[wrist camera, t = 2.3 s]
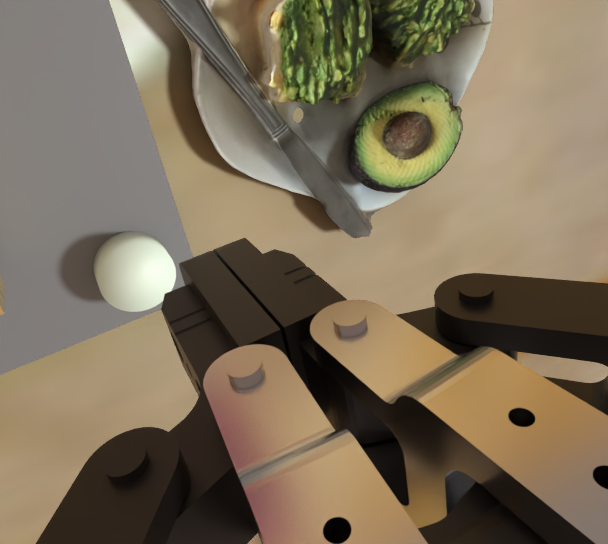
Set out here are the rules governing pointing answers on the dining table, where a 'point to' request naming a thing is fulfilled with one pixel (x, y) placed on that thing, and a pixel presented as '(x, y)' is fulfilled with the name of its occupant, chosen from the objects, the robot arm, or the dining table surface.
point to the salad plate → (334, 92)
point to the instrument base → (77, 183)
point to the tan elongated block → (1, 296)
